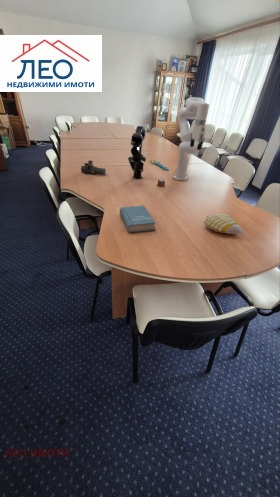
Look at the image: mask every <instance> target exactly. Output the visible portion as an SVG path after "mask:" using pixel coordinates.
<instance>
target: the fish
mask: <svg viewBox="0 0 280 497" xmlns="http://www.w3.org/2000/svg"><path fill="white" fill-rule="evenodd" d="M203 223H204V225H205V226H206V227H207V228H208V229H210V230H212V231H214V232H217V233H222V234H227V235H237V234H239V235H244V234H245V233H244V232H243V231H242V229H241V227H240V225H239V224H238V222H237V219H236V218H235V217H232V216H230V215H229V214H228V213H216V214H210V215H207V216H206V218H205V219H204V220H203Z"/></svg>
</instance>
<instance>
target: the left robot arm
mask: <svg viewBox="0 0 280 497" xmlns="http://www.w3.org/2000/svg"><path fill="white" fill-rule="evenodd" d="M146 130H147V129H145V128H144V126H142V125H138V126H136V128H135V132H134V133H133V134H132V135H131V140H130V146H132V147H131V149H130V153H131V156H128V158H127V160H128V163H129V166H130V167H131V170H132V171H133V175H132V178H134V179H136V180H139V179H143V176H142V173H143V172H144V166H145V164H144V163H145V162H146V161H147V157H146V156H144V154H143V153H142V152H143V143H144V140H145V137H146V135H147V131H146Z"/></svg>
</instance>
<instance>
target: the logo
mask: <svg viewBox="0 0 280 497" xmlns="http://www.w3.org/2000/svg"><path fill="white" fill-rule="evenodd" d="M150 163H151V164H154V165H157V166H158V167H159V168H161V169H163V170H164V171H169V168H167V167H166V166H164V165H162V164H161V163H160V161H159V160H150Z"/></svg>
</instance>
